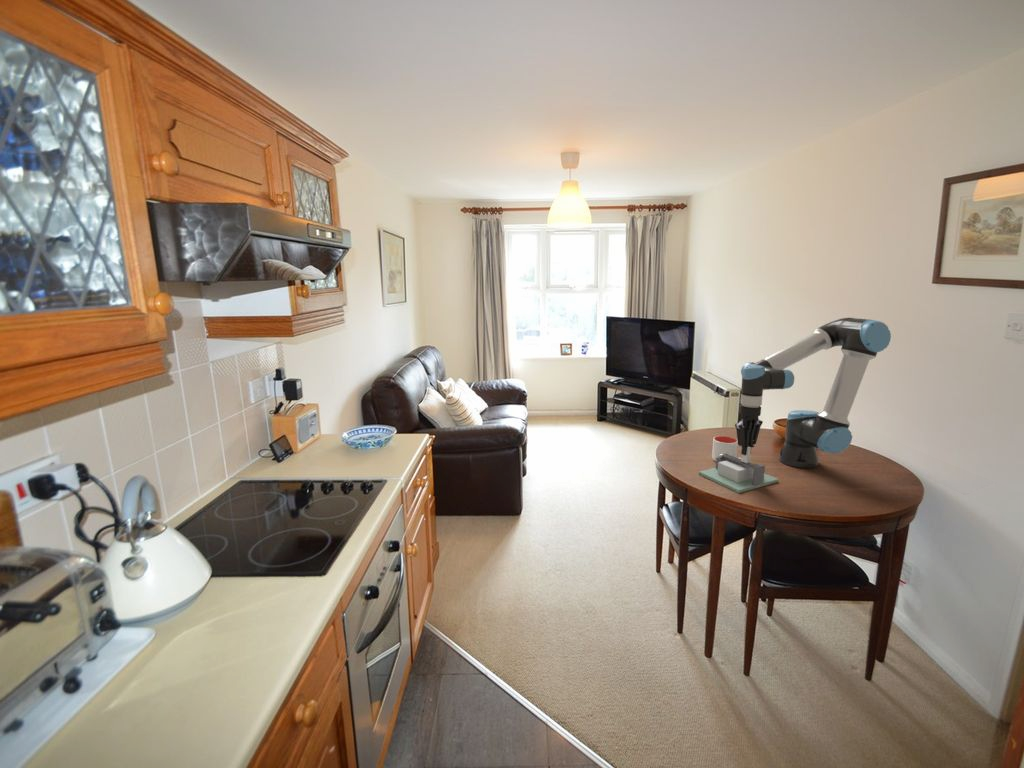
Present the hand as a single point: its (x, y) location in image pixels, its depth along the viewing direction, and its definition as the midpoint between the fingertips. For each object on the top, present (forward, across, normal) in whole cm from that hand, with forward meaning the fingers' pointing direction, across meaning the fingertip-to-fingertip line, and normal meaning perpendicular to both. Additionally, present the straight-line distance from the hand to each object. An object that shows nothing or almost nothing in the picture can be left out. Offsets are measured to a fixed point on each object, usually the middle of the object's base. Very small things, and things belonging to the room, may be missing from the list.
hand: (745, 461), depth 193 cm
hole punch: (+8, 0, -3) cm, 9 cm away
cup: (+8, -10, -19) cm, 23 cm away
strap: (+1, 0, -4) cm, 4 cm away
